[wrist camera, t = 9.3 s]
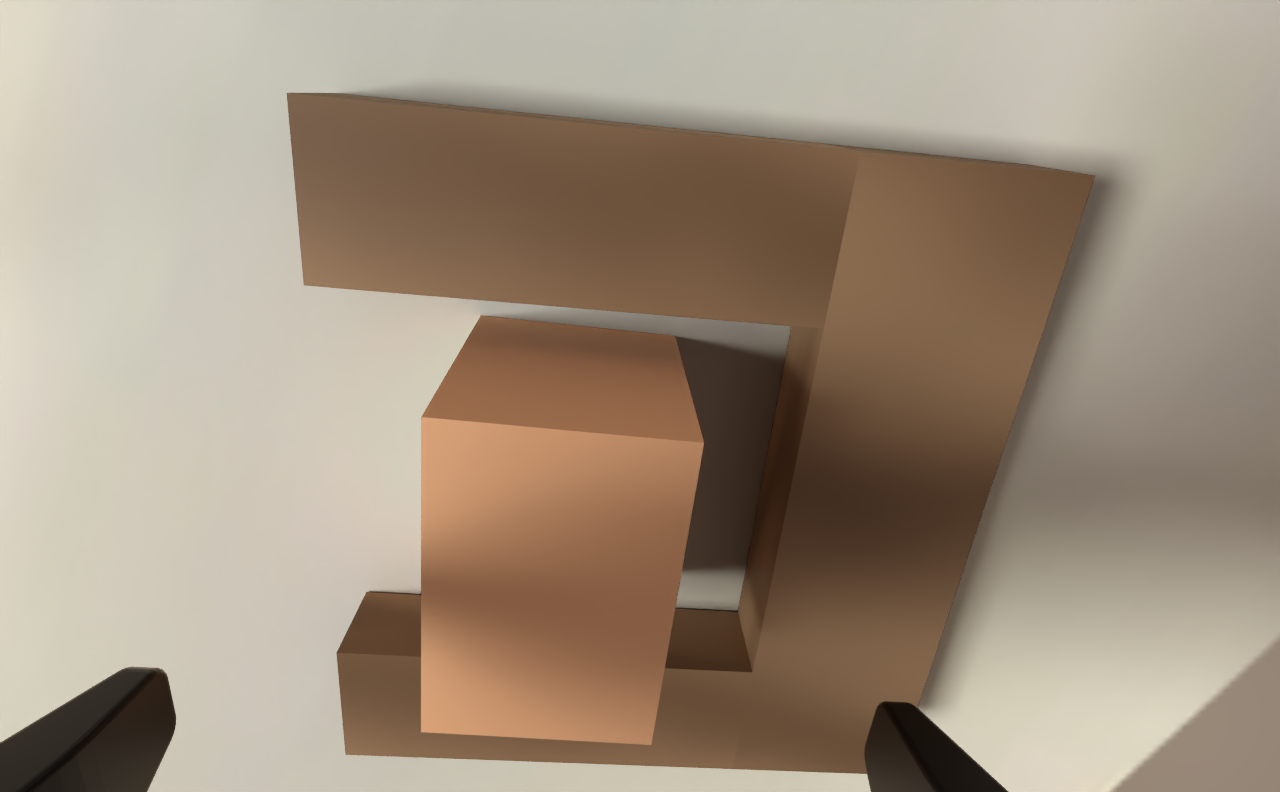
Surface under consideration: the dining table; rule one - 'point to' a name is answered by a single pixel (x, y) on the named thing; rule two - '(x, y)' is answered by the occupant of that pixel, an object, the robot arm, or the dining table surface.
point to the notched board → (808, 397)
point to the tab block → (554, 531)
